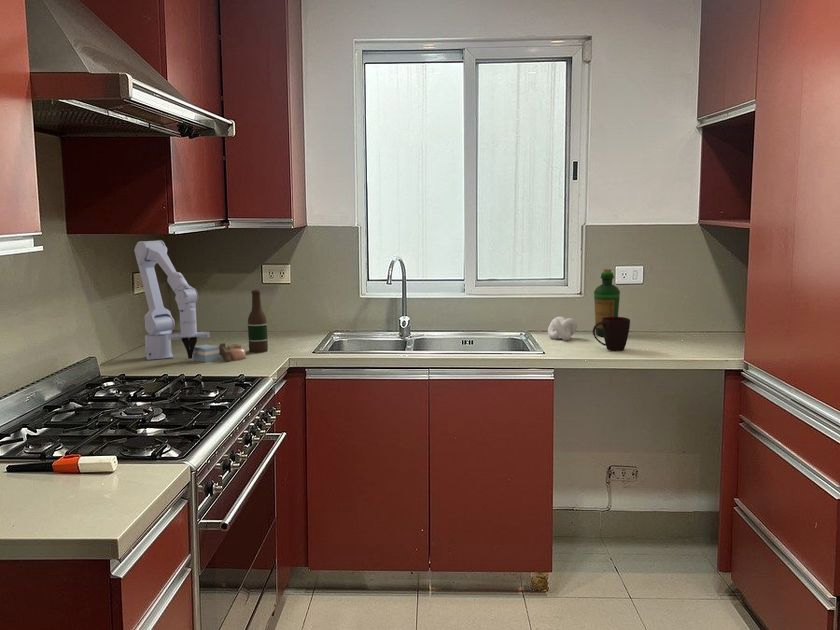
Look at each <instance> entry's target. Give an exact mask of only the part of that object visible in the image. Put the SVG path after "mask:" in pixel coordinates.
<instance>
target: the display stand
mask: <svg viewBox="0 0 840 630" xmlns="http://www.w3.org/2000/svg"><path fill="white" fill-rule="evenodd" d="M217 346H218V347H219V356H222V358H223V359H224V361H225V362H226V363H227V362H228V363H229V362H232V360H231V354H230V351H229V350H228V349H227V346H226V343H225V342H219V345H217Z"/></svg>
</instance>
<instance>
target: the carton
mask: <svg viewBox="0 0 840 630" xmlns="http://www.w3.org/2000/svg"><path fill="white" fill-rule="evenodd" d="M218 346H219V345H213V344H212V345H211V344H207V343H206V344H200V345H195V347H194V351H193V356H192V359H193V361H197V362H201V363H211V362H216V361H220V359H221V358H220V355H219V347H218Z"/></svg>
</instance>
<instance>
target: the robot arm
mask: <svg viewBox="0 0 840 630" xmlns="http://www.w3.org/2000/svg"><path fill="white" fill-rule="evenodd" d="M133 252H134V255H135V259H136V262H137V265H138V270H139V274H140V278H141V279H140V280H141V283H142V287H143V291H144V294H145V298H146V302H147V307H148V311H147V312H146V313H145V314H144V316H143V318H144V328H145V331H146V332H147V334H146V335H144V342H145V343H144V344H145V345H144V346H145V349H144V355H145V358H146V361H149V360H161V359H174V355H173V353H172V340H173V341H175V340H177V341H178V340H181V342H182V343H183V345H184V348H185V350H186V354H187V357H188V359H193V351H194V347H195V346H197V342H198V339H202V338H210V335H211V334H210V331H198V330H197V326H198V325H197V306H196V304H197V303H198V301H199V297H200V296H199V293H198V290H197V289H196V288H194V287H192V286H191V285H190V284H188V281H187V280H186V278H185V277H184V275H183V274H182V273H181V272H178V271H177V270H176V268H175V266H174V265H173V263H172V261H171V259H170V257H169V255H168V247H167V246H166V243H165V242H164V241H163V240H161V239H158V240H147V241H143V240H140V241H138V242H137V243H136V244H135V246H134V251H133ZM156 264H158V265H159V267H160V268H161V269H162V270H163V272H164V273H165V274H166V276H167V278H166V279H167V280H166V281H167V284H168V285H169V286H170V288H171V289H172V291H173V292H174V294H175V297H174V300H175V302H176V304H177V308H178V310H179V325H180V332H178V333H173V330H174V329H175V325H176V323H175V322H176V321H175V319H174V318H173V316H172V313H171V310H169V309H167V308H166V307H164V302H163V299H162V298H163V297H162V295H161V291H160V287H159V282H158V277H157V274H156V270H155V267H156Z"/></svg>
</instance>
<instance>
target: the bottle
mask: <svg viewBox="0 0 840 630" xmlns="http://www.w3.org/2000/svg"><path fill="white" fill-rule="evenodd" d="M600 279H601V284H600V285H598V286H597V287H596V288H595V290H594V291H593V295H594V300H593V301H594V318H595V319H594V321H595V322H594V323H595V325H596V324H597V323H599V322H602V318H605V317H619V308H620V295H621V291H620V289H619V287H617V286H616V285H615V284H613V281H614V280H613V279H615V276H614V272H612V269H610V268H604V269H603V271H602V272H601V275H600ZM595 325H594V326H595ZM595 335H596V337H600V338H604V334H603V327H602V324H600V325H598V326H597V327H596V329H595Z"/></svg>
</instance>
